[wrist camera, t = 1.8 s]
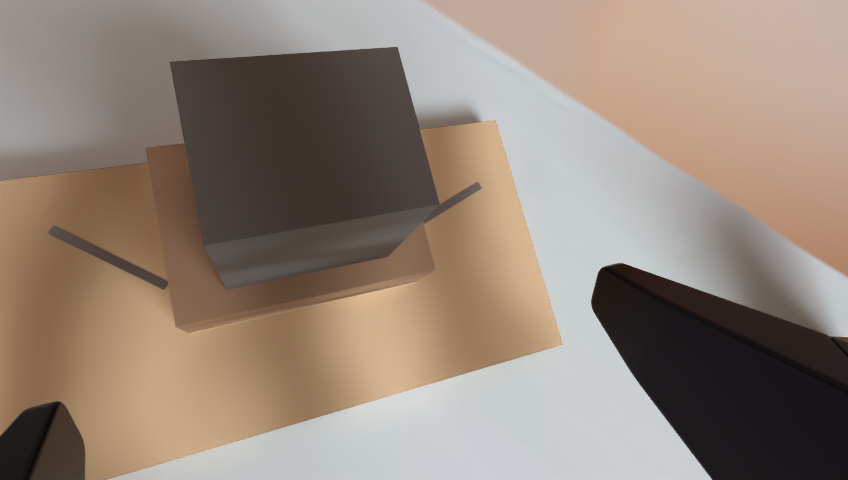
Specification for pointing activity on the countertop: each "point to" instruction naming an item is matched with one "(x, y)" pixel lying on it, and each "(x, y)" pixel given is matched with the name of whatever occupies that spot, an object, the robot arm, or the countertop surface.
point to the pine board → (252, 340)
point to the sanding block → (290, 185)
